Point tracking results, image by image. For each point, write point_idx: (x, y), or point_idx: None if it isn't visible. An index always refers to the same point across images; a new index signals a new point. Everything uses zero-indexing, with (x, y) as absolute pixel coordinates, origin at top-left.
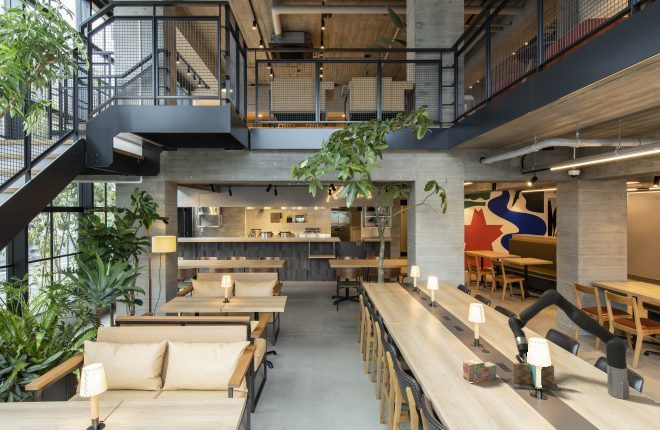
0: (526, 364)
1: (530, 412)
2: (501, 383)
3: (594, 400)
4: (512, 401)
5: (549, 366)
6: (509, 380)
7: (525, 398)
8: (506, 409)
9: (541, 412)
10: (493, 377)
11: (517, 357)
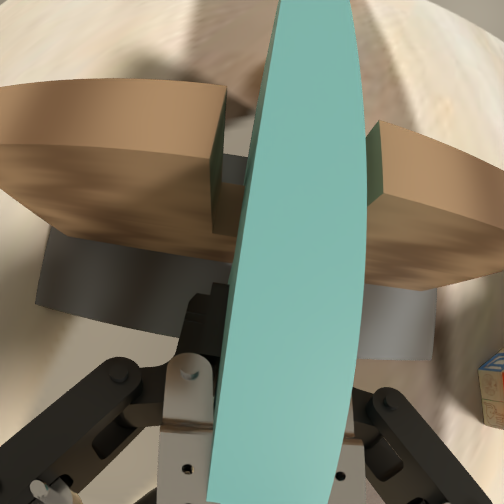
0: (430, 152)
1: (397, 17)
2: (473, 292)
3: (23, 64)
4: (451, 87)
5: (26, 91)
6: (433, 313)
7: (393, 88)
8: (469, 58)
9: (357, 5)
10: (501, 357)
11: (472, 480)
